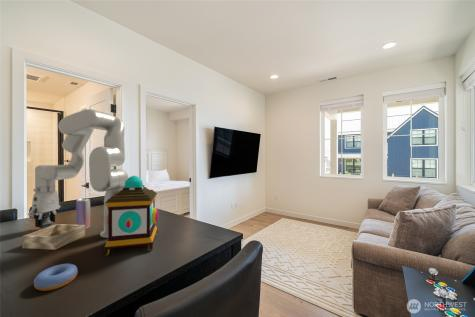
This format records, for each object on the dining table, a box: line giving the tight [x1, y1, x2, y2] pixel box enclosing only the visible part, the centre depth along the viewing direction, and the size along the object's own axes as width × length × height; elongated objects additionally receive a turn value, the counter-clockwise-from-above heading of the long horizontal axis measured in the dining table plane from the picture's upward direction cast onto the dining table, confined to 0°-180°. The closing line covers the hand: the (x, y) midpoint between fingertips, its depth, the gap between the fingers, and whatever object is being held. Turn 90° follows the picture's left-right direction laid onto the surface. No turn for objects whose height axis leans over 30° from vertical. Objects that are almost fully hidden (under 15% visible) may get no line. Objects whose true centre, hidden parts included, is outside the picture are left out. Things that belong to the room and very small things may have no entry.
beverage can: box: [75, 197, 91, 230], centre depth 107 cm, size 6×6×15 cm
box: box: [21, 223, 86, 250], centre depth 90 cm, size 15×15×5 cm
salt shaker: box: [38, 212, 54, 230], centre depth 103 cm, size 6×6×12 cm
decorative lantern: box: [103, 175, 159, 256], centre depth 87 cm, size 20×20×30 cm
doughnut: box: [33, 263, 79, 292], centre depth 61 cm, size 10×10×5 cm
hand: (45, 224), depth 103 cm, fingers closed on salt shaker, 5 cm apart
